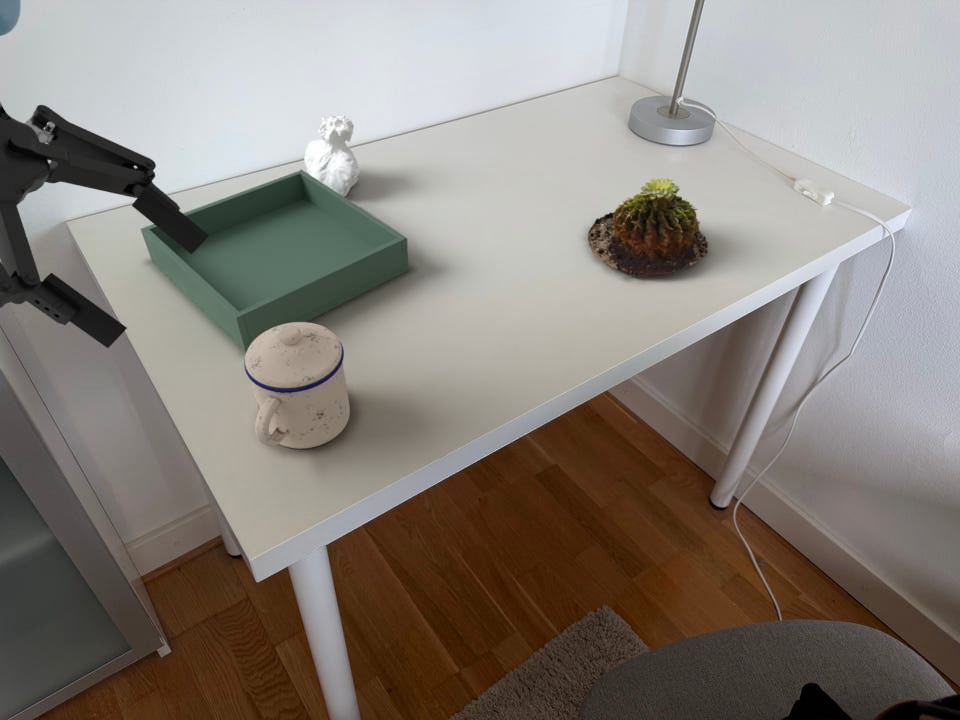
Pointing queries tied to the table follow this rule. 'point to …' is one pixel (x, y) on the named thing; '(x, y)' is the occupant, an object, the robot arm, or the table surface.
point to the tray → (279, 255)
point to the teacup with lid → (298, 385)
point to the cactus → (649, 232)
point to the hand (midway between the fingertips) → (162, 288)
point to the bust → (333, 155)
